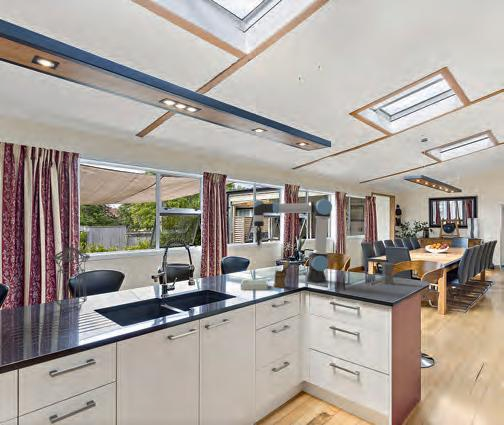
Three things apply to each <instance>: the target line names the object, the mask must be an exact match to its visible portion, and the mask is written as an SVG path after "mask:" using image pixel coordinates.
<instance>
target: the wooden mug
mask: <svg viewBox="0 0 504 425" xmlns="http://www.w3.org/2000/svg"><path fill="white" fill-rule="evenodd" d="M290 264H291V263H290V261H286V262H284V264H283V265H282V270H277V271H276V270H275V273H274V281H273V282H274V283H273V287H274V288H276V289H283V288H286V286H287V285H286V277H287V270H288V269H289V267H290Z"/></svg>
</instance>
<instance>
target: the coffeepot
mask: <svg viewBox="0 0 504 425" xmlns="http://www.w3.org/2000/svg"><path fill="white" fill-rule="evenodd" d="M385 261H386V262H380V261H377V262H376V263H375V266H376V269H377V272H378V273H380V274H381V273H382V276H381V277H382V278H381V281H380V282H381V283H380V284H382V283H383V285H388V284H391V285H394V279H393V273H394V272H393V270H394V269H395V267H396V266H397V265H396V264H395V263H392V262H390V261H389V259H386V260H385ZM379 265H380V266H381V271H380V266H379Z"/></svg>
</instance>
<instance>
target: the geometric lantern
mask: <svg viewBox="0 0 504 425" xmlns="http://www.w3.org/2000/svg"><path fill="white" fill-rule="evenodd" d="M69 253H70V254H69ZM68 254H69V255H68ZM78 256H80V257H78ZM50 258H51V259H52V258H53V260H54V261H55V264H56V265H58V268H59V269H58V270H56V272H57V274H56V288H55V301H54V302H55V303H56V304H57V305H58V306H59V310H60V309H62V310H63V308H66V309H65V311H69V312H72V311H71V310H72V308H74V309H73V311H77V310H76V309H77V308H78V307H79V308H78V310H81V309H82V305H83V304H84V303H85V302H87V286H86V285H87V282H86V262H87V261H88V260H89V259H90V258H91V255H90V254H89V255H88V254H87V253H85V252H83V251H82V250H80V249H78V248H76V247H74V246H69V247H67V248H65V249H63V250H62V251H61V250H60V251H59V252H58V253H56V254H55V255H53V256H51V257H50ZM79 260H80V261H79ZM74 261H77V262H75V263H74ZM61 262H62V263H61ZM65 263H70V264H71V265H70V267H68V268H67V269H62V267H63V266H64V264H65ZM82 263H83V264H84V265H83V267H84V269H82V266H81V265H82ZM60 264H61V265H60ZM76 265H78V267H77V266H76ZM72 266H74V267H75V268H72ZM70 270H74V271H73V273H74V294H73V297H70V298H69V297H68V274H71V273H72V271H70ZM65 271H66V272H65ZM68 271H69V272H68ZM80 272H81V278H82V292H83V293H82V295H83V297H81V283H80V282H81V281H80V280H81V279H80ZM61 274H62V276H61ZM77 274H78V275H77ZM77 276H78V296H76V293H77V292H76V291H77ZM61 277H62V284H61ZM64 282H65V291H66V292H65V295H66V296H65V298H63V297H64V296H63V295H64ZM61 285H62V286H61ZM60 286H61V287H60ZM60 288H61V298H60ZM72 299H73V302H71V303H69V302H68V300H72ZM75 299H76V301H75ZM80 299H81V300H82V301H79V300H80ZM63 301H66V302H65V303H63ZM69 305H72V306H73V307H72V306H69ZM70 308H71V310H70ZM75 308H76V309H75Z"/></svg>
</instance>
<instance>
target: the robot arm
mask: <svg viewBox="0 0 504 425" xmlns="http://www.w3.org/2000/svg"><path fill="white" fill-rule="evenodd" d="M332 211H333V204H332V203H331V201H330V200H328V199H326V198H325V199H324V198H322V199H318V200H314V201H309V202H305V203H301V202H300V203H296V202H295V203H278V202H277V203H276V202H268V203H265V202H264V200H255V201H254V202H253V217H252V218H253V226H254V227H256V229H255V230H256V239H255V241H256V250H259V251H260V250H261V249H262V247H263V244H262V240H263V238H262V231H263V229H262V227H264V226H265V224H264V220H265V219H264V218H265V217H264V214H291V213H292V214H296V213H297V214H299V213H305V214H307V213H309V214H311V215H312V214H314V218H316V219H315V221H316V223H315V235H314V248H313V249H314V250H313V251H311V252H309V253H308V274H307V277H306V281H307V282H310V283H325V282H327V278H326V277H327V276H326V273H325V270H326V269H327V268H328V266H329V260H328V251H327V239H328V238H327V237H328V223H329V219H330V218H331V213H332Z"/></svg>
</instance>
